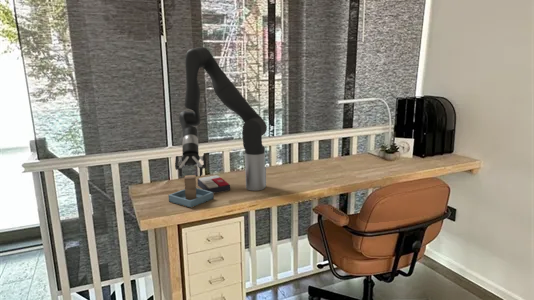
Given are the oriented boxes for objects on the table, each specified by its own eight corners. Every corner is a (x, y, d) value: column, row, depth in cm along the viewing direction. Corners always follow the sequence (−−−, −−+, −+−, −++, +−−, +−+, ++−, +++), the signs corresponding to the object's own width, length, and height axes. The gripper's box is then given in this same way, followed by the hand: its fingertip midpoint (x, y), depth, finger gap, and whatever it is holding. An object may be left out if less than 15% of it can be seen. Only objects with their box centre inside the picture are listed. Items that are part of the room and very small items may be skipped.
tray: (192, 192, 183) (191, 186, 182) (213, 198, 175) (213, 192, 174) (168, 201, 172) (168, 194, 171) (190, 208, 164) (190, 201, 164)
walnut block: (186, 197, 175) (184, 175, 173) (196, 196, 176) (195, 175, 174) (185, 200, 171) (184, 178, 169) (196, 200, 172) (195, 178, 169)
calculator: (208, 187, 180) (197, 177, 192) (208, 196, 181) (197, 185, 194) (230, 183, 185) (218, 173, 197) (230, 192, 186) (218, 182, 199)
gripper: (174, 142, 186) (174, 173, 178) (205, 141, 188) (206, 171, 180) (175, 151, 192) (175, 180, 184) (205, 149, 194) (206, 179, 186)
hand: (191, 176), depth 182 cm, fingers open, 8 cm apart
